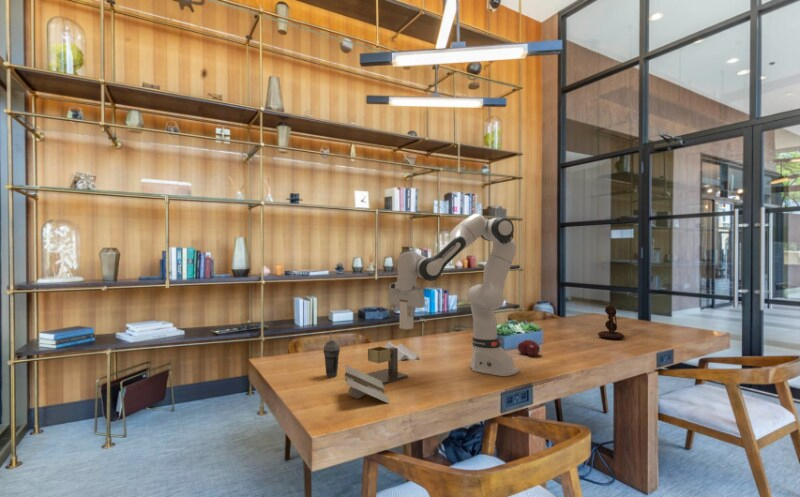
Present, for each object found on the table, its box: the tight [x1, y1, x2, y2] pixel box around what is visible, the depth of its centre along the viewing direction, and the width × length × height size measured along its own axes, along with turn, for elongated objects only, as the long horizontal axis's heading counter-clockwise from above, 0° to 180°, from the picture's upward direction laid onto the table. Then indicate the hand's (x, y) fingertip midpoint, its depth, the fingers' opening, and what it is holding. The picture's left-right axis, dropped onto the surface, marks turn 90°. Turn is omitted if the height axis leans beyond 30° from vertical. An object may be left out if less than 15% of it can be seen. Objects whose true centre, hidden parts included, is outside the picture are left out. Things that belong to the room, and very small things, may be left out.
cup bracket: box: [366, 346, 409, 386], centre depth 175 cm, size 14×16×13 cm
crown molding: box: [383, 341, 421, 362], centre depth 218 cm, size 31×12×4 cm, turn 17°
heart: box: [517, 339, 541, 357], centre depth 213 cm, size 12×8×10 cm
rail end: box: [398, 300, 414, 330], centre depth 183 cm, size 5×5×13 cm
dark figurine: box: [597, 305, 625, 341], centre depth 254 cm, size 15×15×20 cm
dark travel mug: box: [322, 330, 340, 379], centre depth 177 cm, size 7×7×20 cm
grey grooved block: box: [344, 364, 390, 404], centre depth 151 cm, size 19×10×17 cm
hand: (406, 315), depth 183 cm, fingers closed on rail end, 4 cm apart
